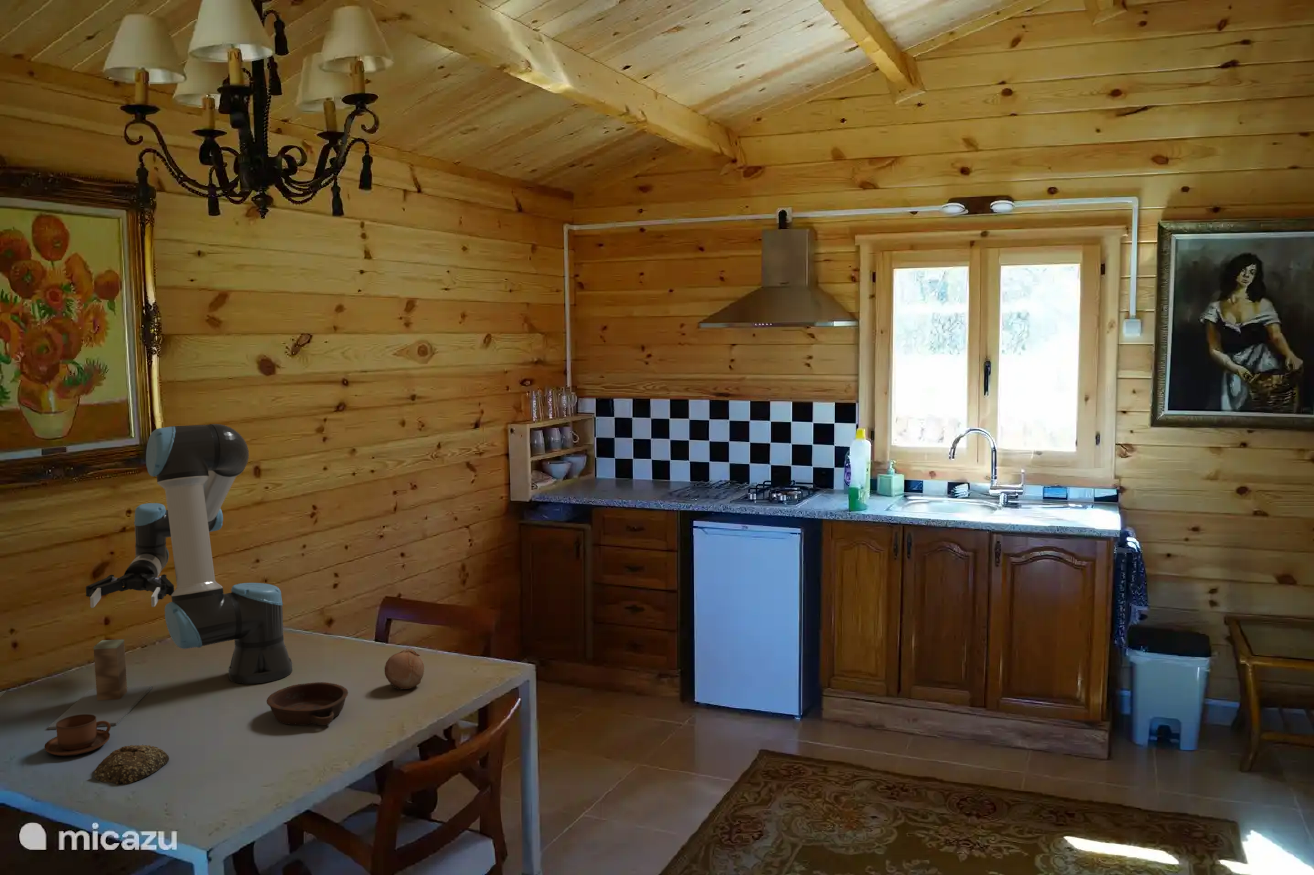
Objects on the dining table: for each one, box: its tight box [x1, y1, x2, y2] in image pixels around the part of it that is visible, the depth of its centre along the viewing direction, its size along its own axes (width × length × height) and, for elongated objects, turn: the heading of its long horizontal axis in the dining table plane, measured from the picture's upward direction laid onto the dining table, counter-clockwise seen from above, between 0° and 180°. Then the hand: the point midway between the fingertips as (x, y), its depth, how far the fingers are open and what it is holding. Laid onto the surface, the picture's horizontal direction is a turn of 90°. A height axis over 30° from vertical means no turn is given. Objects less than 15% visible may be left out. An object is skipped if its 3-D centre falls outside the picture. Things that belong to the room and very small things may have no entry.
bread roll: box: [93, 744, 170, 786], centre depth 204 cm, size 13×12×5 cm
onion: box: [384, 648, 425, 691], centre depth 250 cm, size 10×9×10 cm
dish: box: [266, 681, 349, 726], centre depth 232 cm, size 18×22×5 cm
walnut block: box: [93, 639, 128, 700], centre depth 243 cm, size 5×5×13 cm
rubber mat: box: [47, 685, 153, 730], centre depth 237 cm, size 14×24×1 cm, turn 9°
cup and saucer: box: [44, 714, 112, 757], centre depth 214 cm, size 12×12×6 cm
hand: (122, 602), depth 251 cm, fingers open, 13 cm apart
